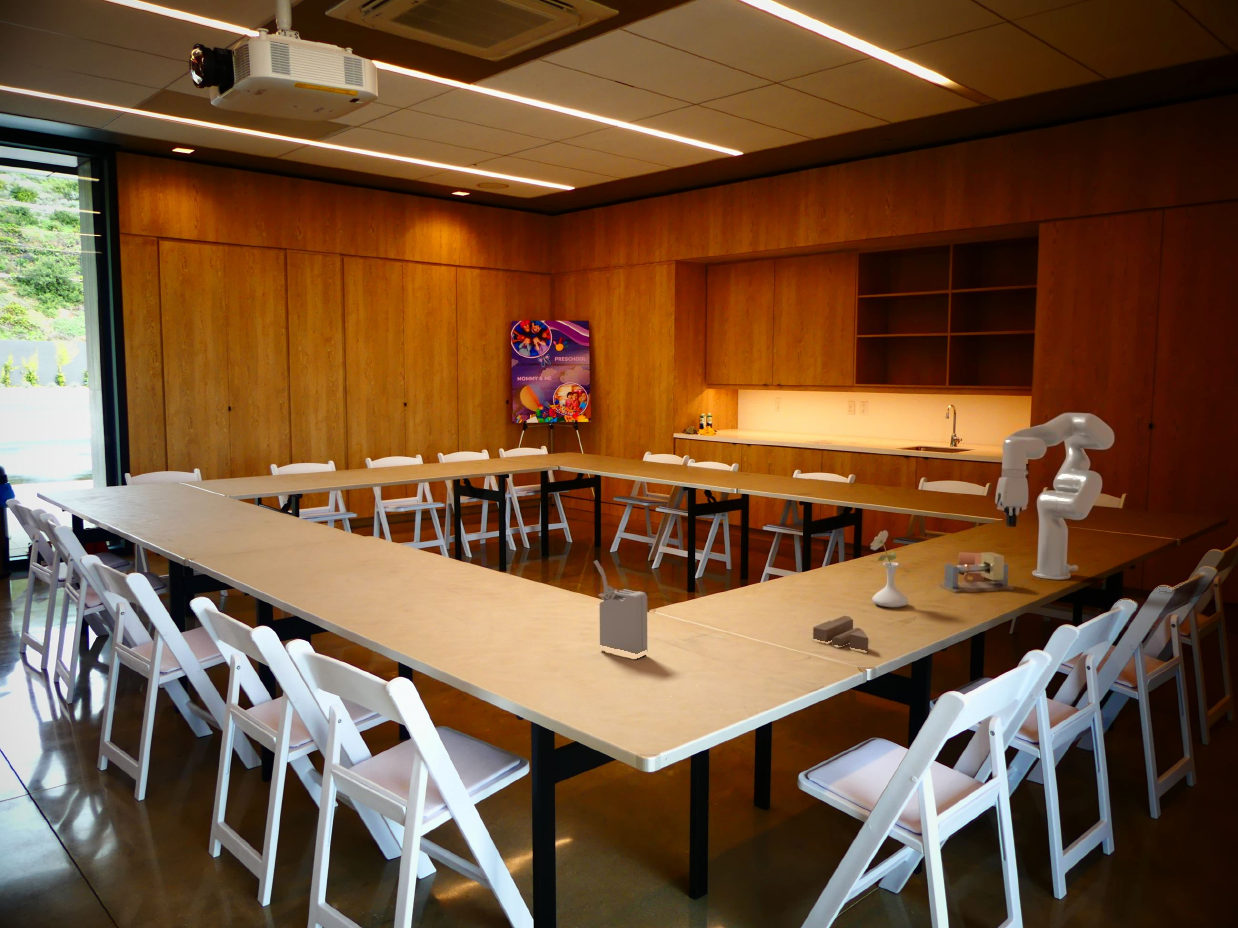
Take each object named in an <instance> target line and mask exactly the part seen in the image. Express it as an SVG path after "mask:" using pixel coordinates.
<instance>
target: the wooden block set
mask: <svg viewBox="0 0 1238 928" xmlns="http://www.w3.org/2000/svg"><path fill="white" fill-rule="evenodd" d="M812 628H813V629H812V636H813V637H812V640H813V639H817V640H820V641H825V642H828V641H831V640H832V643H831V644H832V646H833V645H838V646H843V645H845V646H847V645H846V644H848V643H850V644H848V645H849V648H850V647H851V648H855V649H861V650H865V651H868V652H869V637H868V635H867V634H866V633H865V631H864V630H863V629H861V628H860V627H854V619H853V618H852V617H850V616H848V615H843V616H840V617H838V618H836V619H833V620H827V621H825V622H821V623H820V624H818V625H816V626H813V627H812ZM843 647H844V646H843Z"/></svg>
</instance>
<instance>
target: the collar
mask: <svg viewBox="0 0 1238 928" xmlns="http://www.w3.org/2000/svg"><path fill="white" fill-rule="evenodd" d="M980 553H981V564H990V571H984V572H981V576H983V577H984V578H986V579H989V580H990V581H994V580H1003V575H1004V563H1005V556H1004V555H1002V554H999V553H996V552H993V551H987V552H980Z"/></svg>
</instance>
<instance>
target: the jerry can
mask: <svg viewBox="0 0 1238 928" xmlns="http://www.w3.org/2000/svg"><path fill="white" fill-rule="evenodd" d="M593 564H595V567H596V569H597V570H598V572H599V573H600V575H601V579H602V583H603V593H599V594H598V597H599V598H601V600H602V601H600V603H599V646H600V645H602V646H607V647H610V648H614V649H620V650H624V651H628V652H631V653H635V654H638V653H640V652H642V651H645V650H647V651H648V596H647V593H646V592H645V591H639V590H638V591H634V590H629V589H625V588H624V589H622V590H618V589H616V588H612V586H610V585H608V580H607V577H606V573H605V570H604V568H603V567H602V565H600V562H599V561H598V559H596V560H594V561H593Z"/></svg>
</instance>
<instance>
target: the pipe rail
mask: <svg viewBox="0 0 1238 928" xmlns="http://www.w3.org/2000/svg"><path fill="white" fill-rule="evenodd" d="M984 571H990V564H979V565H967V564H965V565H960V566H958V565H955V564H952V563H945V566H944V584H945V586H947V587H949V588H951V589H958V583H959V574H962V573H969V572H984ZM993 581H994V583H996V584H998V585H1001V586H1009V585H1008V583H1009V563H1006V562H1004V575H1003V580H993Z"/></svg>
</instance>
